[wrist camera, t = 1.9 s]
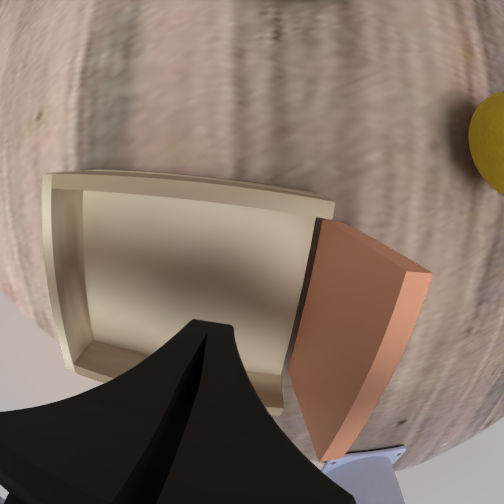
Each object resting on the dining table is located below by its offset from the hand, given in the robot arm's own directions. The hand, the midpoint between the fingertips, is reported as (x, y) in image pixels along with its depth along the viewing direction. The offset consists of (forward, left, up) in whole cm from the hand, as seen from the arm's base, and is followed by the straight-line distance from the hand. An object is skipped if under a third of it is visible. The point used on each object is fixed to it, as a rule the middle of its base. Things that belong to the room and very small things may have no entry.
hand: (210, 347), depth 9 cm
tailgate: (0, -4, -4) cm, 6 cm away
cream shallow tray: (0, +2, -6) cm, 6 cm away
